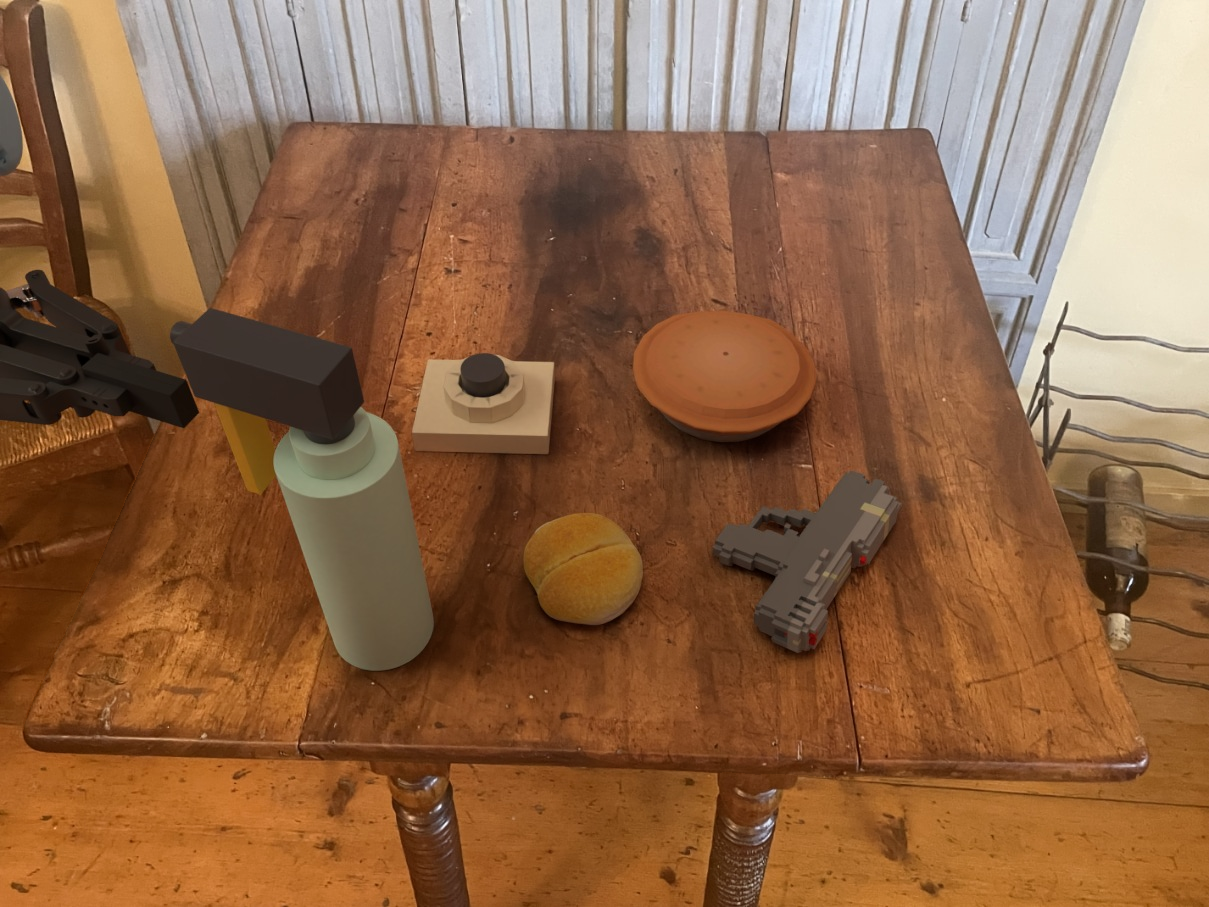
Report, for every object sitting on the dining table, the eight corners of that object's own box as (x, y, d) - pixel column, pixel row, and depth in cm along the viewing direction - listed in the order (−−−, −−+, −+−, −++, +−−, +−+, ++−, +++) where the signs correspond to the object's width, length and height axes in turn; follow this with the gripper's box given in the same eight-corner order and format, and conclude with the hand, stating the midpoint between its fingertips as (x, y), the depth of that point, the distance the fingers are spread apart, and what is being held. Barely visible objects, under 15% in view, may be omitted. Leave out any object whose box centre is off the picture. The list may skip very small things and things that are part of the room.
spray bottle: (249, 628, 69) (129, 358, 51) (305, 554, 74) (212, 282, 56) (403, 684, 66) (332, 420, 48) (451, 604, 71) (403, 334, 53)
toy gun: (680, 575, 70) (809, 631, 65) (785, 444, 79) (905, 484, 74) (683, 608, 72) (808, 665, 67) (784, 477, 81) (901, 518, 76)
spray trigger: (246, 490, 61) (211, 400, 55) (269, 464, 62) (237, 373, 57) (260, 495, 60) (226, 404, 55) (282, 468, 62) (252, 377, 56)
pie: (826, 458, 81) (837, 415, 77) (638, 465, 80) (641, 421, 77) (791, 337, 92) (799, 294, 88) (625, 342, 91) (626, 299, 87)
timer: (415, 451, 81) (408, 416, 78) (430, 377, 87) (425, 343, 84) (548, 454, 81) (547, 419, 78) (554, 380, 87) (553, 346, 84)
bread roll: (557, 646, 68) (555, 614, 66) (512, 552, 74) (509, 518, 71) (663, 606, 71) (667, 573, 68) (612, 518, 76) (613, 484, 73)
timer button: (459, 397, 80) (457, 381, 79) (465, 368, 83) (463, 352, 81) (503, 398, 80) (502, 382, 79) (507, 369, 83) (506, 353, 81)
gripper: (-12, 301, 71) (264, 383, 66) (-168, 417, 63) (132, 522, 57) (-61, 211, 66) (235, 291, 60) (-240, 325, 58) (84, 431, 52)
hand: (184, 404), depth 59 cm, fingers closed
